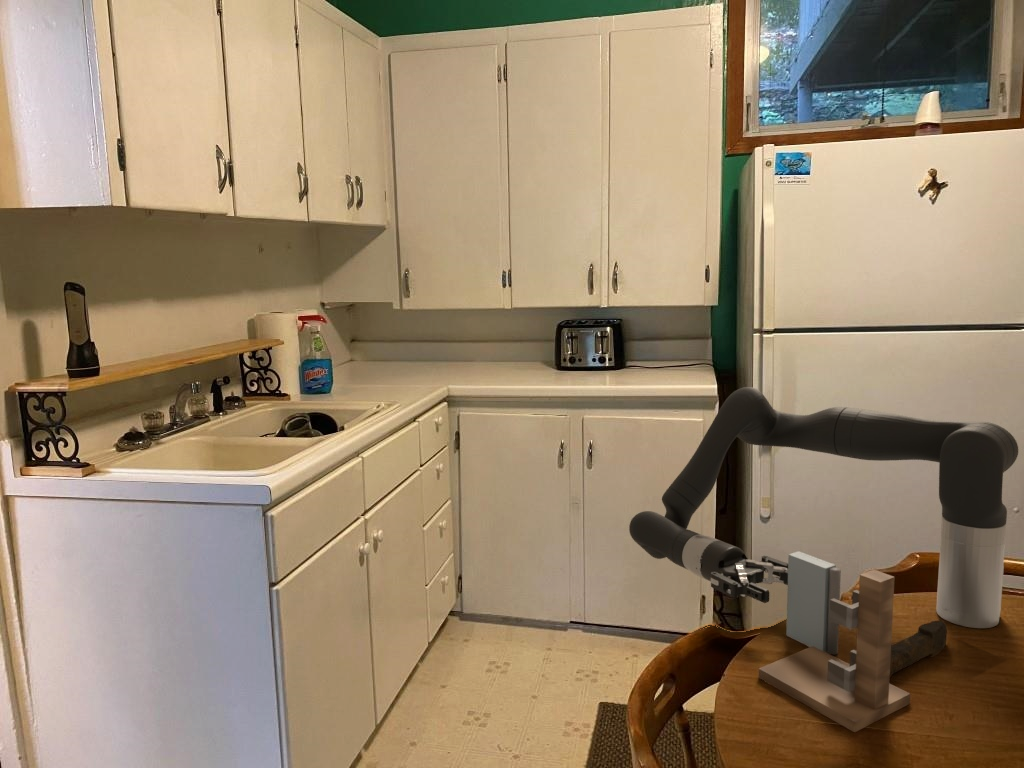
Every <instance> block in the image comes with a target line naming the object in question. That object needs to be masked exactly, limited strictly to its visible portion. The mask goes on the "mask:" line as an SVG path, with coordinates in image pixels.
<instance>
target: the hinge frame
mask: <svg viewBox="0 0 1024 768" xmlns="http://www.w3.org/2000/svg"><path fill="white" fill-rule="evenodd" d="M895 579H896V578H895V576H893V575H891V574H887V573H884V572H882V571H879V570H876V569H871V570H869V571H865V572H863V573H861V574H859V583H858V584H859V585H858V586H859V589H855V590H852V596H851V597H852V598H851V599H852V600H851V602H852V603H851V604H849V603H847V602H844V601H841V600H840V601H839V600H837V599H831V600H830V621H832V622H834V623H837V624H839V626H841V627H844V628H846V629H848V630H851V631H852V630H854V629H857V630H856V632H857V634H856V649H852V650H850V651H849V663H848V662H846V661H844V660H843V659H840V658H838V657H836V656H835V655H832V654H829V653H827V652H824V651H822V650H820V649H818V648H816V647H814V646H812V647H809V646H808V648H807V647H806V648H805V649H802V650H800V651H797V652H794V653H793V654H791V655H788V656H786V657H783V658H781V659H778V660H776V661H774V662H772V663H769V664H766V665H764V666H761V667H759V668H758V679H760V680H761V679H762V680H761V681H763V680H764V681H763V682H765V681H766V682H765V683H767V684H768V683H769V684H768V685H770V684H771V685H770V686H772V687H774V688H776V689H778V690H780V691H781V692H783V693H784V694H787V695H788V696H790V697H791V698H793V699H794V700H797V701H798V702H800V703H801V704H804V705H805V706H807V707H809V708H811V709H812V710H814V711H816V712H818V713H819V714H821V715H823V716H825V717H827V718H828V719H830V720H832V721H833V722H835V723H837V724H839V725H841V726H842V727H844V728H846V729H848V730H849V731H850V732H853V733H856V732H858V731H860V730H863V729H864V728H866V727H868V726H870V725H871V724H873V723H876V722H877V721H879V720H881V719H883V718H885V717H887V716H889V715H891V714H893V713H894V712H897V711H899V710H900V709H902V708H904V707H907V706H909V705H910V704H911V693H910V692H908V691H906V690H904V689H902V688H899V687H897V686H895V685H893V684H892V683H890V679H891V678H890V659H891V645H892V637H893V636H892V635H893V634H892V633H893V620H894V619H893V616H894V615H893V614H894V598H895V597H894V596H895V595H894V594H895Z"/></svg>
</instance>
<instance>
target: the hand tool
mask: <svg viewBox="0 0 1024 768" xmlns="http://www.w3.org/2000/svg"><path fill="white" fill-rule="evenodd" d="M947 634H948V629H947V624H946V622H944V621H943V620H932V621H931V622H927V623H924V624H921V625H920V626H918V628H917V632H916V633H914V634H912V635H911V636H908V637H906V638H905V639H902V640H900V641H897V642H896V643H893V644H891V659H890V679H891V677H892V676H893V674H895V673H897V672H899V671H900V670H902V669H904V668H906V667H909V666H912V664H914V663H917V662H918V661H919V660H921V659H924V658H926V657H929V658H930V657H931V658H934V657H935V656H938V654H940V652H942V650H943V649H944V648H945V646H946V644H947V639H948V637H947Z"/></svg>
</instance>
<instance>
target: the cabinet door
mask: <svg viewBox="0 0 1024 768" xmlns="http://www.w3.org/2000/svg"><path fill="white" fill-rule="evenodd" d="M787 557H788V558H787V559H788V560H787V561H788V562H787V563H788V585H787V596H786V597H787V599H786V602H787V603H786V636H787V637H789V638H791V639H793V640H795V641H797V642H799V643H801V644H803V645H805V646H807V647H808V648H809V647H812V646H814V647H816V648H818V649H820V650H822V651H824V652H826V653H828V654H830V655H832V656H835V655H837V654H839V652H838V651H839V628H840V627H839V626H840V625H839V624H837V623H834V622H832V621H830V600H831V599H837V600H839V601H841V580H842V579H841V575H842V573H841V572H842V569H840V568H839V567H836V566H837V565H836V564H834V563H831V562H829V561H827V560H824V559H820V558H818V557H815V556H813V555H810V554H807V553H806V552H805V553H804V552H802V551H799V550H798V551H795V552H792V553H789V554H788V556H787Z"/></svg>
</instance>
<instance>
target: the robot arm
mask: <svg viewBox="0 0 1024 768" xmlns="http://www.w3.org/2000/svg"><path fill="white" fill-rule="evenodd" d="M736 438H738V439H739V440H740V441H741V442H744V443H746V444H749V445H752V446H762V447H763V446H765V447H780V448H783V447H784V448H791V449H792V448H794V449H799V450H800V449H801V450H805V451H812V452H818V453H824V454H830V455H834V456H840V457H843V458H844V457H845V458H850V459H855V460H856V459H857V460H863V461H876V462H877V461H882V462H883V461H884V462H885V461H911V460H912V461H919V460H920V461H927V462H928V461H929V462H936V463H939V464H938V466H939V468H938V469H939V470H938V471H939V473H938V499H939V502H940V504H941V527H940V529H941V530H940V545H939V560H938V561H939V562H938V563H939V564H938V575H937V576H938V577H937V578H938V579H937V589H936V590H937V591H936V593H937V594H936V609H935V610H936V613H937V615H938V616H939V617H940V618H942V619H943V620H945V621H947V622H949V623H952V624H955V625H958V626H962V627H965V628H966V627H968V628H971V629H972V628H973V629H988V628H989V629H990V628H993V627H995V626H997V625H998V624H999V623H1000V617H1001V607H1002V595H1003V584H1004V583H1003V582H1004V569H1005V568H1004V566H1005V564H1004V562H1005V561H1004V560H1005V546H1006V533H1007V520H1008V517H1007V516H1008V509H1007V507H1006V505H1005V504H1004V503H1003V481H1004V480H1003V479H1004V478H1003V476H1004V473H1005V472H1006V471H1007V470H1009V469H1010V468H1011V467H1012V466H1013V465H1014V464H1015V462H1016V460H1017V458H1018V455H1019V445H1018V442H1017V440H1016V439H1015V436H1013V435H1012V434H1011V432H1009V431H1008V430H1007V429H1005V428H1004V427H1002V426H1000V425H998V424H996V423H992V422H986V421H959V420H957V421H956V420H955V421H954V420H953V421H952V420H934V419H933V420H931V419H925V418H917V417H913V416H909V415H908V416H907V415H902V414H896V413H892V412H891V413H889V412H885V411H878V410H877V411H876V410H871V409H866V408H865V409H863V408H856V407H847V406H846V407H845V406H835V407H829V408H826V409H822V410H819V411H817V412H814V413H811V414H805V415H803V414H795V413H789V412H782V411H779V410H777V409H775V408H773V406H772V405H771V404H770V403H769V401H768V399H767V398H766V396H765V394H763V392H761V391H760V390H759V389H758V388H756V387H753V386H751V387H750V386H746V387H740V388H739V389H738V388H737V390H734V391H733V392H732V393H730V395H729V396H728V397H727V398H726V399H725V400H724V402H723V403H722V405H721V407H720V409H719V410H718V411H717V413H716V415H715V417H714V419H713V421H712V422H711V424H710V426H709V428H708V430H707V431H706V432H705V435H704V436H703V437H702V440H701V442H700V444H699V445H698V446H697V448H696V450H695V452H694V453H693V455H692V456H691V458H690V459H689V461H688V462H687V464H686V465H685V466H684V468H683V469H682V470H681V472H680V473H679V474H678V475H677V477H676V478H675V479H674V480H673V481H672V482H671V484H670V485H669V487H668V488H667V489H666V490H665V492H664V493H663V495H662V497H661V501H662V504H663V506H664V508H665V514H664V516H663V514H660V513H658V512H655V511H650V510H644V511H641V512H639V513H636V514H635V515H634V516H633V517H632V518H631V520H630V522H629V527H628V528H629V529H628V531H629V534H630V537H631V538H632V539H631V540H633V541H634V542H635V543H636V544H637V545H638V546H639V547H640V548H642V549H643V550H644V551H645V552H646V553H647V554H648V555H649V556H650V557H652V558H654V559H657V560H661V559H665V558H667V559H668V560H669V561H670V562H672V563H674V564H675V565H677V566H679V567H681V568H683V569H686V570H688V571H690V573H693V574H694V575H696V576H698V577H700V578H702V579H704V580H707V581H708V582H710V588H712V589H715V590H716V591H718V592H720V593H722V594H725V596H728V597H730V598H731V599H737V598H738V597H739V596H741V597H744V598H746V597H750V598H751V599H755V600H756V601H759V602H761V603H762V604H763V603H764V604H766V603H769V602H770V591H769V589H768V588H766V587H763V586H760V585H758V584H764V585H772V584H773V583H778V584H779V583H781V584H784V585H786V586H788V562H784V561H783V560H779V559H776V558H775V557H770V556H767V555H762V556H761V561H757V560H755V559H749V558H748V557H747V556H746V555H745V552H744V551H743V550H742V548H740V547H738V546H735V545H733V544H730V543H728V542H725V541H723V540H720V539H717V538H715V537H711V536H708V535H703V534H700V533H698V532H695V531H694V530H690V529H688V526H689V524H690V523H691V522H690V521H691V519H692V517H693V515H694V513H696V511H697V510H698V509H699V508H700V506H701V505H702V504H703V503H704V502H705V500H706V499H707V498H708V496H709V495H710V494H711V492H712V490H713V489H714V486H715V485H716V482H717V479H718V477H719V474H720V471H721V467H722V465H723V462H724V459H725V457H726V455H727V452H728V450H729V448H730V447H731V446H732V443H734V440H735V439H736ZM765 573H766V574H767V578H765Z"/></svg>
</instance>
